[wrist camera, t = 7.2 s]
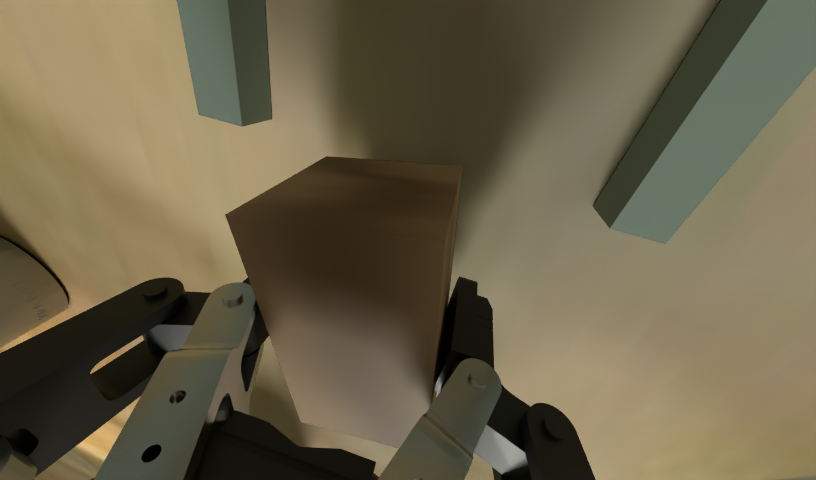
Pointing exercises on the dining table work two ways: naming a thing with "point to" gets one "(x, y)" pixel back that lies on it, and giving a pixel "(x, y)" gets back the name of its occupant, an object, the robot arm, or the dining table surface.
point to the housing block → (355, 287)
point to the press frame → (656, 141)
